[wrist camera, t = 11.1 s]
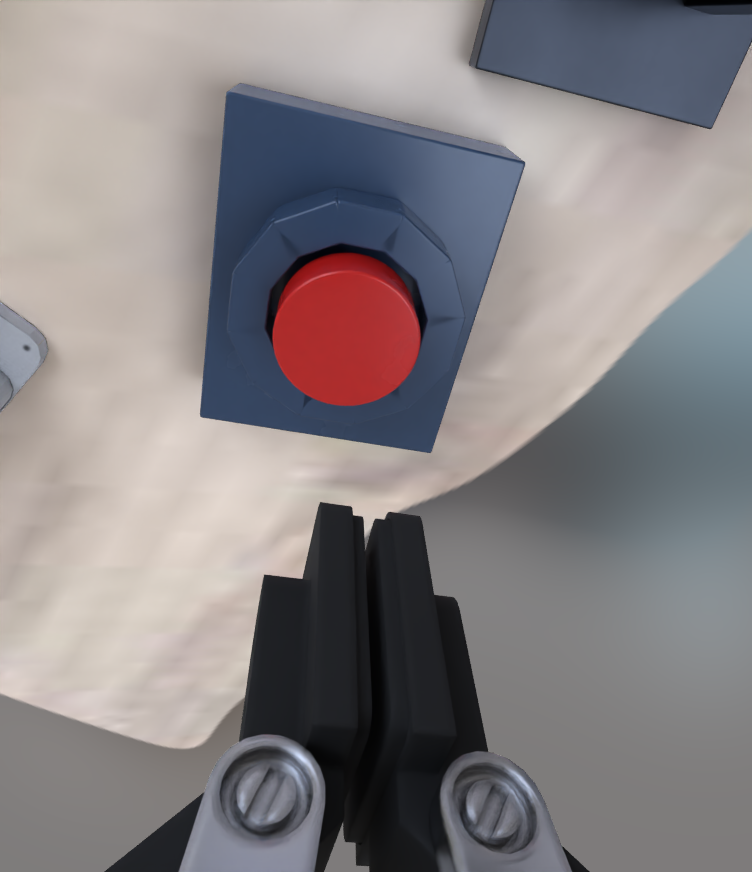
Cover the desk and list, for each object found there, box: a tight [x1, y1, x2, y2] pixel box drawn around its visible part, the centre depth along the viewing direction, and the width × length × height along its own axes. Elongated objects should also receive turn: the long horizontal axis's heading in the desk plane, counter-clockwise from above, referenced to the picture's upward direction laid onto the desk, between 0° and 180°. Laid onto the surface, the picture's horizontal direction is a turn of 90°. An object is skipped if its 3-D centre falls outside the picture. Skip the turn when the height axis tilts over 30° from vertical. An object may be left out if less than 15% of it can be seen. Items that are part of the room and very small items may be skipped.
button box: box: [200, 83, 525, 453], centre depth 22 cm, size 11×9×4 cm
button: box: [272, 253, 421, 406], centre depth 19 cm, size 4×4×2 cm
